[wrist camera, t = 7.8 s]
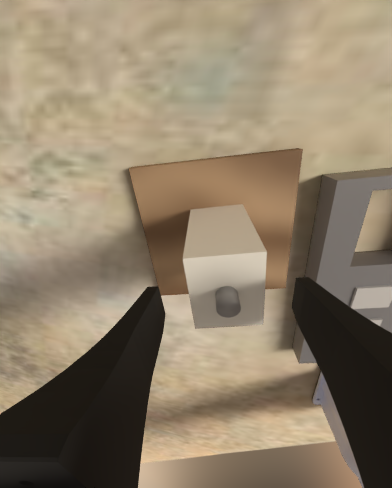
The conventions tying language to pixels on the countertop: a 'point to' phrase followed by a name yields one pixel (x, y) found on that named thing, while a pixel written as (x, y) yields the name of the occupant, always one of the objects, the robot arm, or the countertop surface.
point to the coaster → (215, 195)
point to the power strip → (348, 251)
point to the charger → (224, 268)
